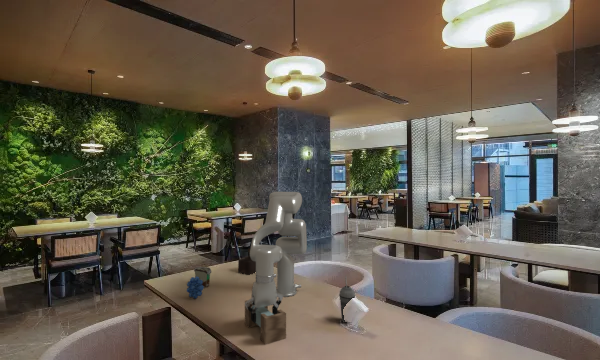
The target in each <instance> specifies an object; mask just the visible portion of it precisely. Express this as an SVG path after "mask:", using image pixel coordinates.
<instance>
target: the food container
mask: <svg viewBox="0 0 600 360" xmlns="http://www.w3.org/2000/svg"><path fill="white" fill-rule="evenodd" d="M193 272H194V278H195V277H199V280H202V281H203V283H202V285H203V286H204V288H208V287H209V286H210V281H211V274H212V269H211V267H207V266H198V267H195V268H194V271H193Z"/></svg>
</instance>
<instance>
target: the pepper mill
mask: <svg viewBox="0 0 600 360" xmlns="http://www.w3.org/2000/svg"><path fill="white" fill-rule="evenodd" d="M250 249H251V248H247V255H245V256H244V257H242V258H239V259H238V261H237V263H238V264H237V268H238V271H237V273H238V274H241V273H242V275H246V276H251V275H253V273H254V274H256V273H255V272H256V261H253V260H252V259H251V257H250ZM250 274H251V275H250Z"/></svg>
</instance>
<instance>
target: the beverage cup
mask: <svg viewBox="0 0 600 360" xmlns="http://www.w3.org/2000/svg"><path fill="white" fill-rule="evenodd" d="M344 279H345V281H344V282H345V286H342V288H341V289H340V290H339V294H338V296H339V303H340V313H341V314H340V316H341V322H342V321H344V322H345V320H344V315H343V309H344V307H345V306H346V304H347V303H348V302H349V301H350V300H351V299H352V298H356V293H355V290H354V288H353V287H351V286H350V285H349V286H348V282H347V275H345V276H344ZM344 322H343V323H344Z"/></svg>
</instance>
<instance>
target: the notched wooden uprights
mask: <svg viewBox="0 0 600 360" xmlns="http://www.w3.org/2000/svg"><path fill="white" fill-rule="evenodd" d="M248 300H249V299H247V300H244V303H245V302H247V301H248ZM250 307H252V303H251V304H250ZM268 307H269V306H266V307H265V308H266V309H267V310H269V308H268ZM244 324H245V325H246V327H247V328H252V327H256V326H258V325H257V324H256V323H254V322H252V320H251V312H250V311H249V310H248V309H247V307H246V306H245V305H244ZM286 339H287V313H286V312H285V311H283V310H282V309H278V310H277V314H275V315H270V316H267V315H266V314H261V327H260V340H261V342H262V343H263V344H264V345H270V344H273V343H275V342H279V341H282V340H286Z"/></svg>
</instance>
